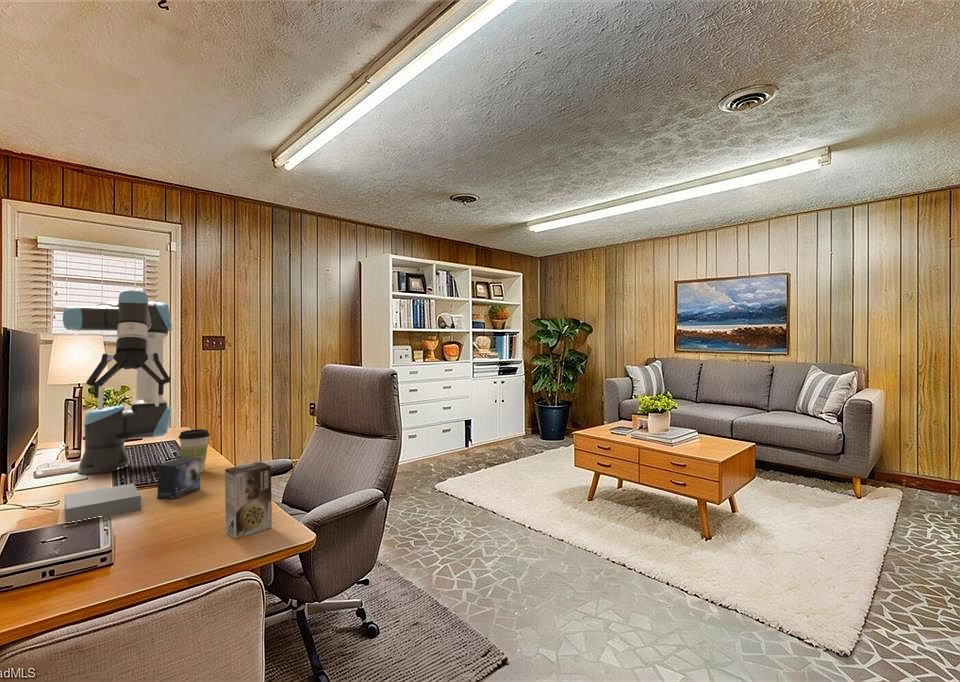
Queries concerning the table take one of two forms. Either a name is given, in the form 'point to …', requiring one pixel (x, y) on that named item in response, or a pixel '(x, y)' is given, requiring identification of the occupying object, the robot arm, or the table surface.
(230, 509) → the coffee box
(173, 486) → the small box
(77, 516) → the plinth
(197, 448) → the coffee cup
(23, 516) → the table surface
